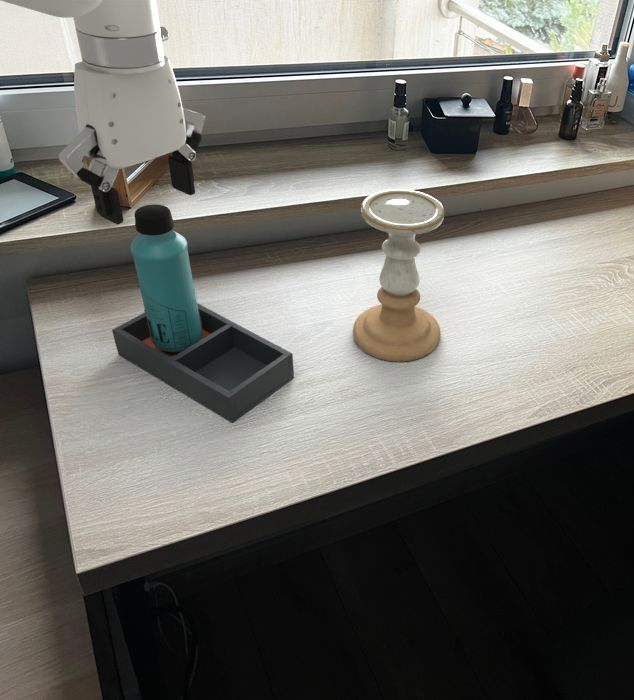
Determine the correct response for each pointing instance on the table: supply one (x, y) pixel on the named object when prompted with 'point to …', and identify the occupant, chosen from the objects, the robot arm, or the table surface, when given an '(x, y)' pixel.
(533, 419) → the table surface
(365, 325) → the candle holder
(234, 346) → the two compartment tray
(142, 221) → the beverage bottle
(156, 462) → the table surface
